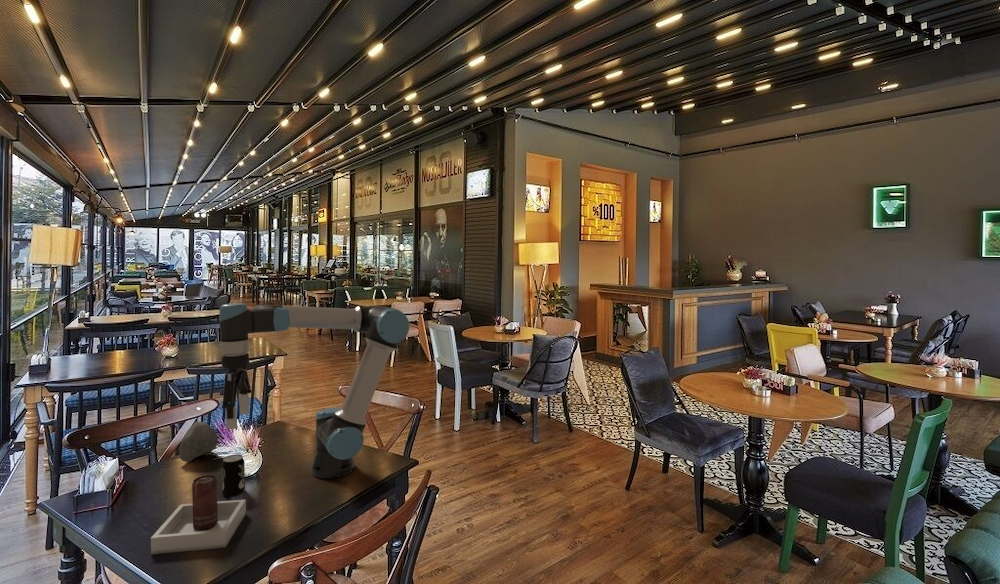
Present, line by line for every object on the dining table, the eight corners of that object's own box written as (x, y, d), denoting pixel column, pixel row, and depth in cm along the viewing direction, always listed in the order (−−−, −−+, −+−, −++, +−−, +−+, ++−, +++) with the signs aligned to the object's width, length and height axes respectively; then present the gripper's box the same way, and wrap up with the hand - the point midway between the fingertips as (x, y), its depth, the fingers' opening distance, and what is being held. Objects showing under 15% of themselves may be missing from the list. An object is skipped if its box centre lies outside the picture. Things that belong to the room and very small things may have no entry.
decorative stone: (206, 449, 199) (205, 413, 198) (226, 453, 196) (225, 416, 195) (171, 464, 184) (170, 425, 183) (192, 468, 181) (191, 428, 180)
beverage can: (235, 498, 159) (234, 462, 159) (217, 496, 161) (217, 460, 160) (249, 489, 166) (248, 454, 165) (232, 487, 167) (231, 453, 166)
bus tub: (246, 513, 150) (245, 499, 150) (225, 547, 133) (225, 531, 132) (181, 518, 147) (180, 504, 146) (151, 554, 129) (150, 538, 129)
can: (187, 532, 138) (186, 484, 137) (201, 520, 145) (200, 474, 144) (209, 532, 138) (208, 484, 137) (222, 520, 145) (221, 474, 144)
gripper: (234, 346, 162) (237, 409, 163) (207, 363, 138) (211, 436, 139) (258, 345, 163) (261, 407, 165) (236, 361, 139) (240, 434, 141)
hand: (238, 421), depth 152 cm, fingers open, 13 cm apart
